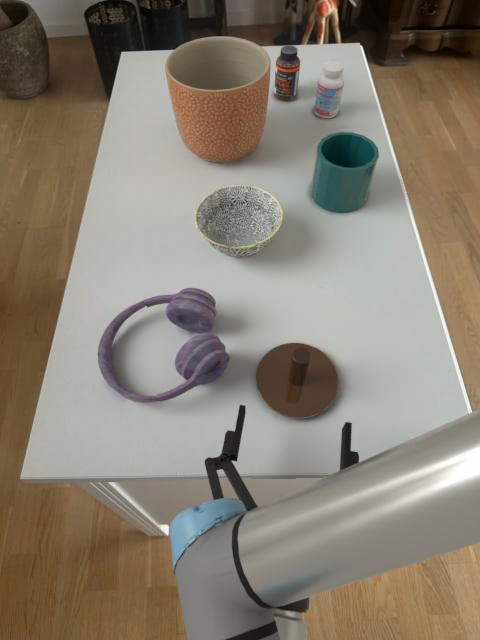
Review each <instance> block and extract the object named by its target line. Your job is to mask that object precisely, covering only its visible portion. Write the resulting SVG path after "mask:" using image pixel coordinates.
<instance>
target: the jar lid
mask: <svg viewBox="0 0 480 640" xmlns="http://www.w3.org/2000/svg"><path fill="white" fill-rule="evenodd" d="M259 361H260V362H259V363H258V365H257V368H256V372H255V386H256V389H257V392H258V395H259V396H260V398H261V400H262V401H263V403H264V404H265V405H266V406H267V407H268V408H269V409H270V410H272V411H273V412H274V413H276V414H278V415H280V416H283V417H285V418H290V419H298V420H299V419H300V420H302V419H303V420H304V419H309V418H312V417H316V416H318V415H319V414H322V413H323V412H325V411H326V410H327V409H328V408H329V407H330V406H331V405H332V403H333V401H334V400H335V398H336V395H337V393H338V389H339V376H338V373H337V370H336V367H335V365H334V363H333V362H332V361H331V359H330V358H329V357H328V355H327V354H325V353H324V352H323V351H321V350H320V349H319V348H316V347H315V346H312V345H309V344H307V343H301V342H287V343H282V344H280V345H277V346H275V347H273V348H272V349H270V350H269V351H268V352H266V353H265V354H264V355H263V357H262V358H261V359H260V360H259Z"/></svg>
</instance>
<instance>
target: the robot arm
mask: <svg viewBox="0 0 480 640" xmlns="http://www.w3.org/2000/svg"><path fill="white" fill-rule="evenodd" d="M246 408H247V407H246V405H243V404H239V407H238V411H237V412H238V413H237V418H236V421H235V428H234V430H228V429H227V431H225V435H224V439H223V445H222V449H221V454H220V455H217V456H215V457H209V456H208V457H207V458H205V460H204V467H205V471H206V475H207V479H208V484H209V486H210V491H211V494H212V495H211V496H212V500H208V501H204V502H203V503H201V504H198V505H194V506H191V507H188V508H187V509H185V510H182V511H181V512H179V513H178V514H177V515H176V516H175V517H174V518H173V519H172V521H171V523H170V526H169V538H170V547H171V558H172V571H173V574H174V575H175V581H176V586H177V592H178V597H179V602H180V609H181V613H182V618H183V619H182V620H183V624H184V629H185V636H186V640H307V636H308V622H307V620H305V619H303V613H304V614H307V611H309V609H310V598H311V597H314V596H318V595H321V594H323V593H327V592H330V591H333V590H336V589H337V590H338V589H339V588H342V587H346V586H349V585H353V584H355V583H358V582H361V581H364V580H368V579H371V578H374V577H377V576H381V575H383V574H387V573H390V572H393V571H397V570H399V569H402V568H406V567H408V566H412V565H414V564H417V563H420V562H424V561H427V560H431V559H433V558H436V557H439V556H443V555H446V554H449V553H453V552H455V551H458V550H462V549H464V548H468V547H470V546H474V545H478V544H480V408H479V409H477V410H474V411H472V412H469V413H467V414H465V415H463V416H460V417H458V418H456V419H454V420H451V421H449V422H447V423H445V424H443V425H441V426H438V427H436V428H434V429H431V430H429V431H427V432H424V433H422V434H420V435H418V436H416V437H413V438H411V439H408V440H406V441H404V442H402V443H400V444H397V445H395V446H392V447H391V448H388V449H386V450H384V451H382V452H379V453H377V454H375V455H373V456H370V457H368V458H365V459H364V460H361V461H360V454H359V452H358V451H354V450H352V430H353V428H352V427H353V423H352V422H350V421H349V422H348V421H345V423H344V424H343V426H342V428H341V439H340V440H341V441H340V455H339V456H340V459H339V471H336V472H334V473H332V474H329V475H327V476H325V477H322V478H320V479H318V480H316V481H314V482H312V483H309V484H307V485H304V486H302V487H300V488H298V489H296V490H294V491H291V492H288V493H287V494H284V495H282V496H280V497H277V498H275V499H273V500H271V501H269V502H268V501H267V502H266V503H264V504H262V505H259V506H258V505H257V503H256V501H255V500H254V498H253V496H252V494H251V492H250V490H249V488H248V487H247V485H246V484H245V481H244V480H243V478H242V477H241V475H240V473H239V471H238V470H237V468H236V466H235V465H234V463H233V462H238V458H239V452H240V448H241V441H242V436H243V430H244V424H245V418H246ZM220 470H222V471H223V473H224V474H225V476H226V478H227V480H228V481H229V483H230V485H231V487H232V489H233V490H234V492H235V495H236V497H224V493H223V489H222V485H221V482H220V478H219V473H218V471H220Z"/></svg>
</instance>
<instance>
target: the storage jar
mask: <svg viewBox="0 0 480 640" xmlns="http://www.w3.org/2000/svg"><path fill="white" fill-rule="evenodd" d="M379 158H380V152H379V147H378V146H377V145H376V144H375V142H374V141H373V140H372V139H370V138H369V137H367V136H365V135H363V134H361V133H360V134H359V133H357V132H351V131H338V132H334V133H330V134H328V135H326V136H324V137H322V138H321V139H320V141H319V142H318V144H317V146H316V153H315V158H314V166H313V172H312V178H311V185H310V195H311V199H312V200H313V202H314V203H315V204H316V205H317V206H318V207H320V208H321V209H324V210H326V211H328V212H333V213H340V214H341V213H342V214H343V213H350V212H354V211H356V210H358V209H360V208H361V207H362V206H363V205H364V204H365V202H366V200H367V198H368V195H369V192H370V189H371V185H372V181H373V177H374V174H375V171H376V167H377V165H378V161H379Z"/></svg>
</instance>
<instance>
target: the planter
mask: <svg viewBox="0 0 480 640" xmlns="http://www.w3.org/2000/svg"><path fill="white" fill-rule="evenodd" d="M271 63H272V62H271V58H270V55H269V53H268V52H267V50H266V49H264V48H263V47H262V46H260V45H259V44H257V43H256V42H253V41H251V40H248V39H246V38H240V37H235V36H227V35H226V36H225V35H223V36H221V35H219V36H216V35H215V36H207V37H201V38H196V39H193V40H190V41H187V42H185V43H183V44H181V45H179V46H178V47H176V48H175V49H174V50H172V51H171V53H169V54H168V56H167V58H166V59H165V62H164V69H165V70H164V71H165V77H166V78H165V79H166V82H167V88H168V93H169V99H170V104H171V107H172V112H173V116H174V120H175V123H176V127H177V130H178V134H179V136H180V138H181V140H182V142H183V144H184V145H185V147H186V148H187V149H188V150H189V152H190V153H192V154H193V155H195V156H196V157H198V158H200V159H202V160H205V161H208V162H210V163H221V164H222V163H232V162H235V161H238V160H241V159H242V158H244V157H246V156H248V155H250V153H252V151H254V150H255V149H256V147H257V146H258V145H259V143H260V142H261V140H262V136H263V135H264V130H265V125H266V120H267V113H268V107H269V106H268V105H269V96H270V95H269V94H270V83H271V67H272V66H271Z"/></svg>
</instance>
